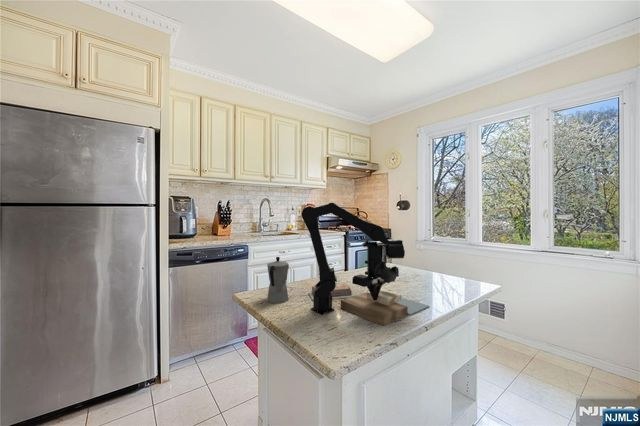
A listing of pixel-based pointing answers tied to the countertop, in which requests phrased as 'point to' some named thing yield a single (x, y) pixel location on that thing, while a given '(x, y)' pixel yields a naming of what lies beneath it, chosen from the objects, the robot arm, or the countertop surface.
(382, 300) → the cream flat block
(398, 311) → the block
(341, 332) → the countertop surface
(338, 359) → the countertop surface
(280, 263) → the coffeepot
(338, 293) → the packaged product
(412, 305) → the mat
